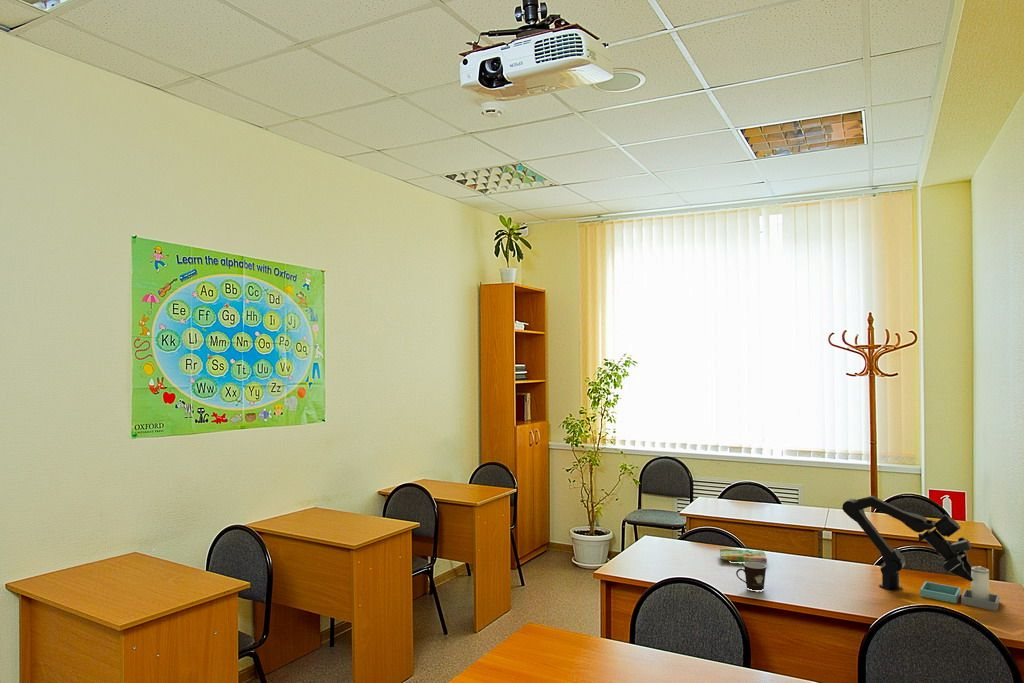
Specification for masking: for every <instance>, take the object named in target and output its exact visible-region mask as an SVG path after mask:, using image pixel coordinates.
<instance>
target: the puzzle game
mask: <svg viewBox="0 0 1024 683" xmlns="http://www.w3.org/2000/svg"><path fill="white" fill-rule="evenodd" d="M719 555H720V559H721V560H727V561H731V562H745V563H746V562H758V563H762V564H765V565H766V564H767V562H768V558H767V556H766V553H765V551H764V550H763V551H761V550H749V549H730V548H728V549H727V548H726V549H725V548H719Z"/></svg>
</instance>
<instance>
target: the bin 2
mask: <svg viewBox="0 0 1024 683" xmlns="http://www.w3.org/2000/svg"><path fill="white" fill-rule="evenodd" d="M960 596H961V600H960V601H961V605H965V606H970V607H975V608H979V609H986V610H990V611H995V612H996V611H998V608H999V605H1000V603H1001V602H1000V595H999V594H994V593H991V592H989V601H984V600H978V599H973V598H972V589H969V588H968V589H967V588H965V589H964V590H963V592H962V595H960Z"/></svg>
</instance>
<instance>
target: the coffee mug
mask: <svg viewBox="0 0 1024 683" xmlns="http://www.w3.org/2000/svg"><path fill="white" fill-rule="evenodd" d="M743 567H744V569H743V568H738V569H737V570H736V572H735V573H736V574H735V575H736V577H737V578H738V579H739V580H740V581H741V582H743V583H745V584H746V589H747V588H749V589H752V590H762V589H764V588H765V580H766V572H767V565H766V564H762V563H758V562H746V563H744V565H743ZM740 571H742V572H744V576H745V580H744V579H742V578H741V577H740V576H739V574H738V573H739V572H740Z"/></svg>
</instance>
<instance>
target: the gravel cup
mask: <svg viewBox="0 0 1024 683" xmlns="http://www.w3.org/2000/svg"><path fill="white" fill-rule="evenodd" d="M970 576H971V577H972V579H973V581H970V584H971V585H970V586H971V589H970V590H972V598H973V599H978V600H984V601H989V593H990V570H989V569H988V568H986V567H983V566H981V565H979V566H972V567H971V574H970Z"/></svg>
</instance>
